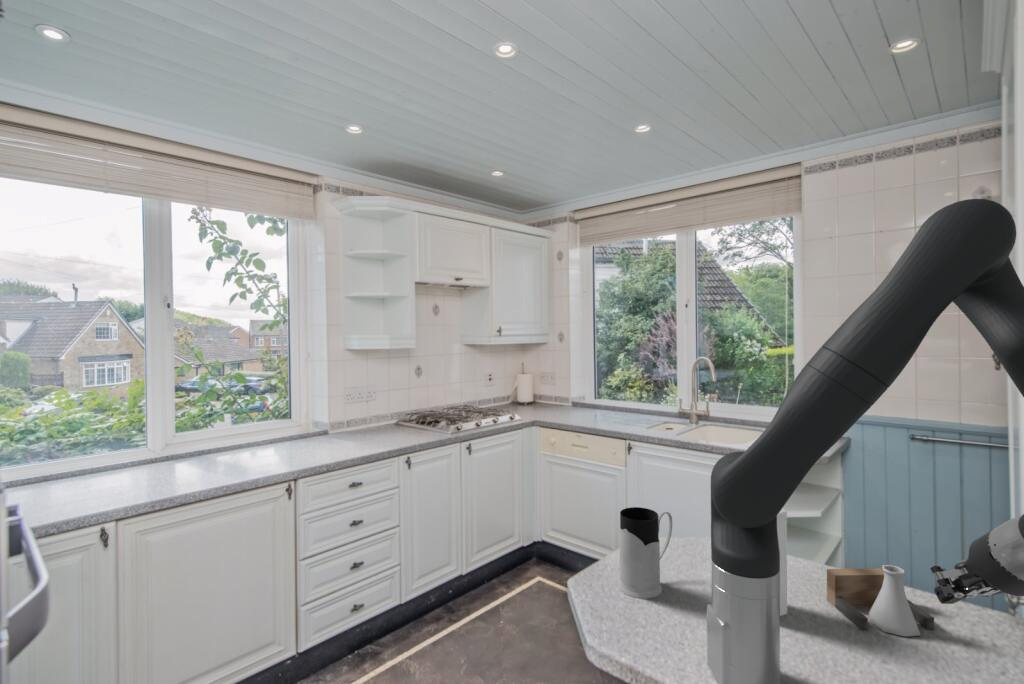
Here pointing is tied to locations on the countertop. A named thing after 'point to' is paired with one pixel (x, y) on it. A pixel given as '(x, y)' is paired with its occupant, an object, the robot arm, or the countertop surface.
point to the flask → (893, 605)
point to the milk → (782, 558)
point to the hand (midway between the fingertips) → (941, 596)
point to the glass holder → (641, 552)
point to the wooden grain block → (863, 594)
